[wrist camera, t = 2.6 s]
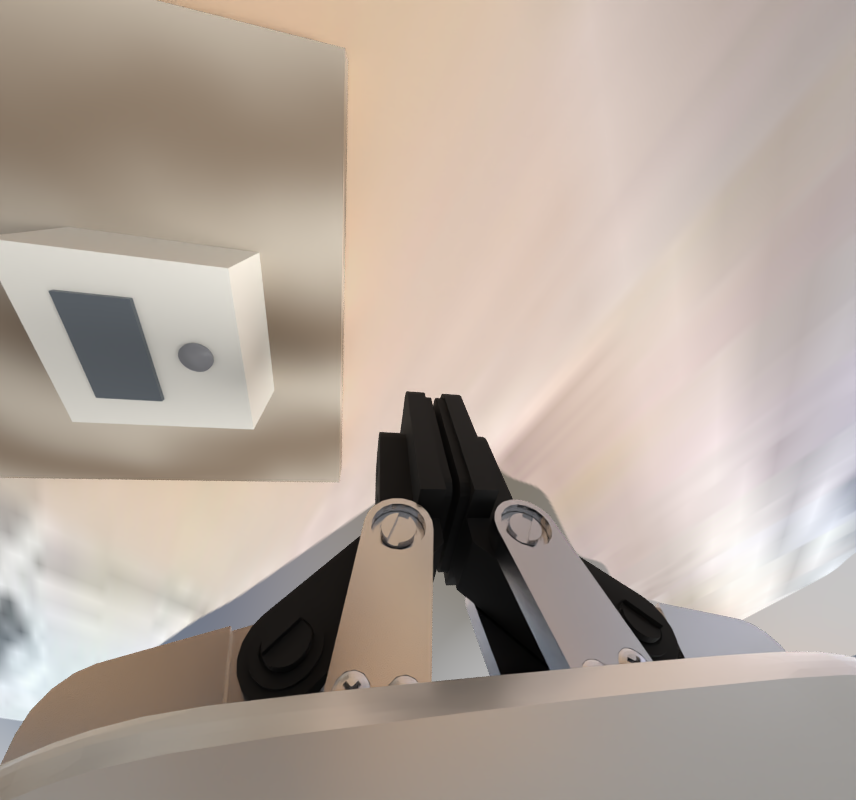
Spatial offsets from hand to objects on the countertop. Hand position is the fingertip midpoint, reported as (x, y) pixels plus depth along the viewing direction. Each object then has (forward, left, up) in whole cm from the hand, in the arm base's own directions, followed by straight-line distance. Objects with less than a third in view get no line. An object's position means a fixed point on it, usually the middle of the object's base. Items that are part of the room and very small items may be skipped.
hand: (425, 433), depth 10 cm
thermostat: (-1, -9, -6) cm, 11 cm away
